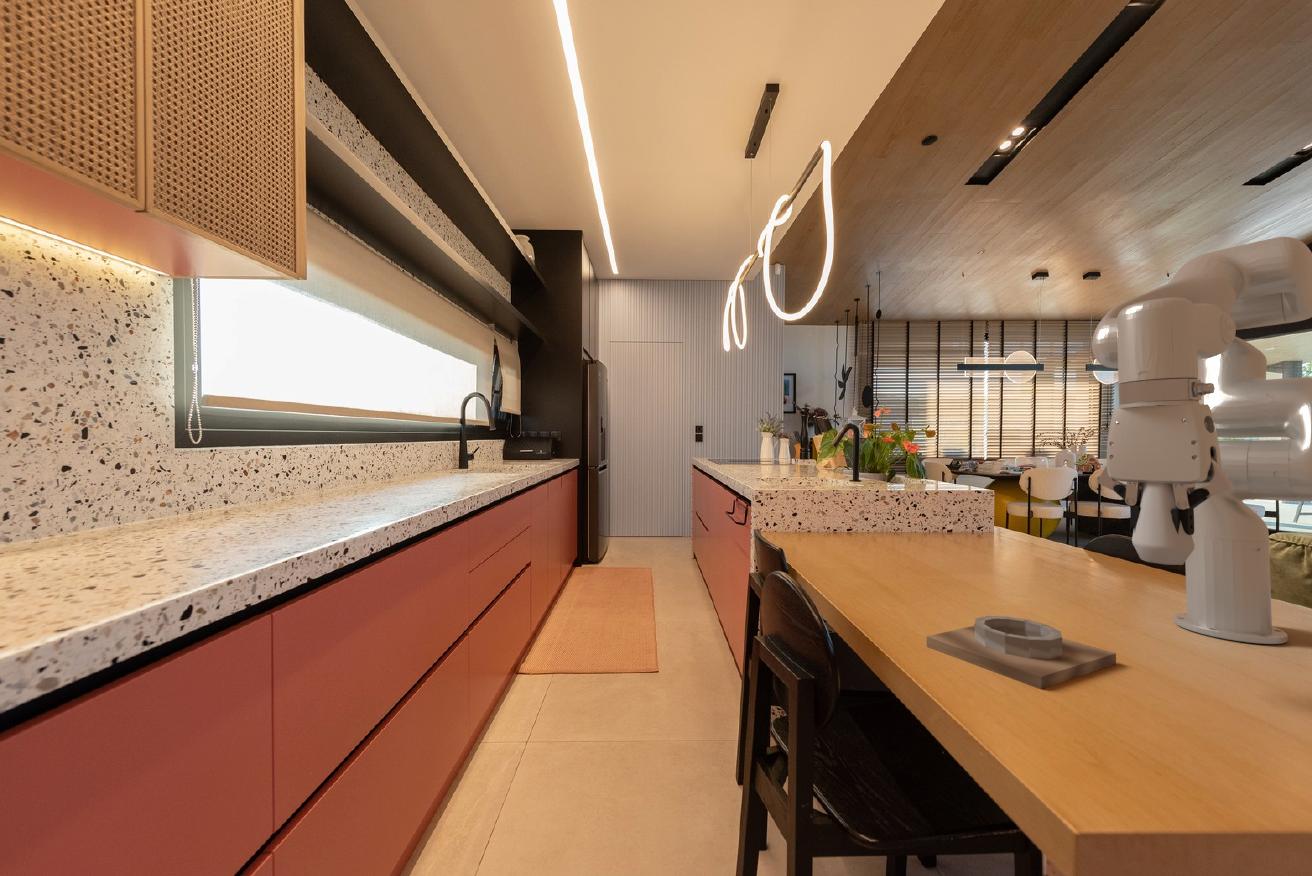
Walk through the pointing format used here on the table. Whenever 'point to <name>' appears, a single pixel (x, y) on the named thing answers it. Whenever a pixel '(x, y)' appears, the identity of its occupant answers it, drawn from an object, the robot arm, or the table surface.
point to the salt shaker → (1160, 527)
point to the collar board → (1022, 665)
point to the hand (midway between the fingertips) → (1161, 536)
